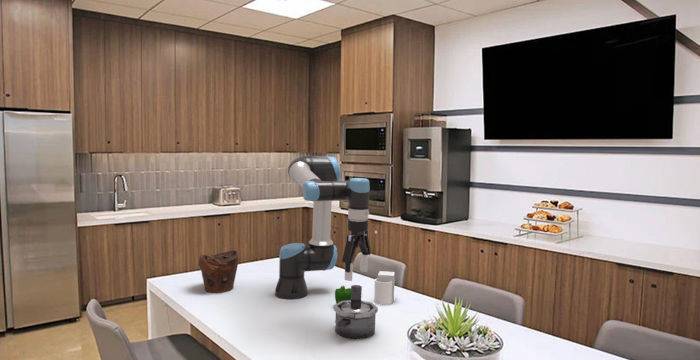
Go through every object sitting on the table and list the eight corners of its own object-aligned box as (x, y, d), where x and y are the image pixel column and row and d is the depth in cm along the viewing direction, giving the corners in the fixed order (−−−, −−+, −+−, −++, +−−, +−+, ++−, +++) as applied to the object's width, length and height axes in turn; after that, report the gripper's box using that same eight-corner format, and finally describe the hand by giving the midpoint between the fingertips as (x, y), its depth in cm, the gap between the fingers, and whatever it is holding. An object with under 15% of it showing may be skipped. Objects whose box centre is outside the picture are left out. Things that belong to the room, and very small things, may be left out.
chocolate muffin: (188, 291, 221) (189, 253, 220) (216, 281, 240) (216, 246, 239) (220, 298, 215) (221, 258, 213) (245, 286, 233) (246, 250, 232)
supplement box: (392, 303, 212) (393, 275, 211) (376, 302, 214) (377, 274, 213) (394, 298, 220) (395, 271, 219) (378, 297, 221) (379, 270, 220)
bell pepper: (343, 302, 212) (344, 280, 211) (357, 307, 206) (357, 285, 205) (329, 306, 206) (330, 284, 205) (343, 312, 200) (343, 288, 200)
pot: (321, 338, 172) (322, 312, 171) (350, 317, 194) (350, 294, 193) (360, 347, 166) (361, 320, 165) (385, 324, 187) (386, 301, 186)
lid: (336, 312, 176) (336, 288, 175) (348, 304, 186) (348, 281, 186) (363, 317, 172) (364, 292, 171) (374, 308, 182) (375, 284, 181)
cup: (400, 299, 219) (400, 278, 218) (386, 306, 209) (386, 283, 208) (384, 295, 223) (385, 274, 223) (370, 302, 214) (371, 280, 213)
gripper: (352, 226, 164) (350, 286, 166) (380, 216, 186) (378, 269, 188) (333, 223, 167) (331, 282, 169) (362, 214, 189) (360, 266, 191)
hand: (356, 275), depth 178 cm, fingers open, 13 cm apart
